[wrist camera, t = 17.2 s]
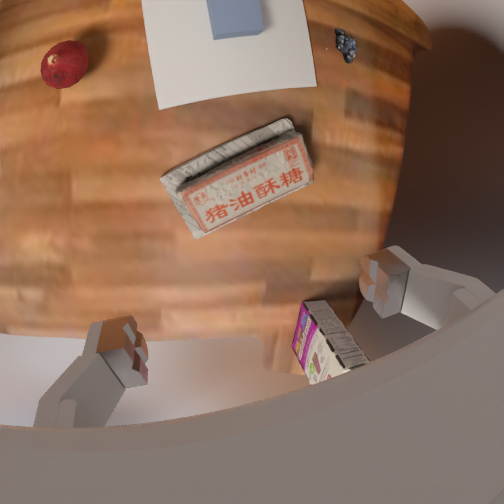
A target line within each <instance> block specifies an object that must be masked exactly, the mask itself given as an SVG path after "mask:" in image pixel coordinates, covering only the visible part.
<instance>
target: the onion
mask: <svg viewBox="0 0 504 504" xmlns="http://www.w3.org/2000/svg"><path fill="white" fill-rule="evenodd" d="M88 65H89V55H88V52H87V49H86V47H85V46H83V45H82V44H81V43H80V42H76V41H70V40H69V41H64V42H60V43H58V44H57V45H55V46H53V47H52V48H51V49H50V50H49V51H48V52H47V53H46V54H45V56H44V58H43V60H42V63H41V75H42V78H43V80H44V81H45V82H46V84H47V85H49V86H51V87H54V88H56V89H62V88H68V87H71V86H72V85H74V84H76V83H77V82H79V80H80V79H81V78H82V77H83V75H84V74H85V72H86V70H87V67H88Z"/></svg>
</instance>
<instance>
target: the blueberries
mask: <svg viewBox="0 0 504 504" xmlns="http://www.w3.org/2000/svg"><path fill="white" fill-rule="evenodd" d="M335 33H336V47H337V49H338V50H339V51H340V52H342V53H343V56H344V60H345V62H346V63H348V64H349V63H352V62H353V58H354V57H355V54H356V51H357V47H356V41H355V40H354V39H353V38H352V37H351V36H349V35H346V36H345V31H344V30H342V29H335ZM326 42H327V41H326ZM326 50H327V48H326Z"/></svg>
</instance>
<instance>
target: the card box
mask: <svg viewBox="0 0 504 504" xmlns="http://www.w3.org/2000/svg"><path fill="white" fill-rule="evenodd" d="M206 3H207V8H208V13H209V19H210V24H211V30H212V35H213V40H219V39H226V38H234V37H243V36H254V35H259V34H260V33H261V32H262V31H264V30H265V28H264V23H263V18H262V13H261V8H260V3H259V0H206Z"/></svg>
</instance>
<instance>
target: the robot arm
mask: <svg viewBox="0 0 504 504" xmlns="http://www.w3.org/2000/svg"><path fill="white" fill-rule="evenodd" d="M360 267H361V268H362V270H363V272H362V273H361V275H360V276H359V286H360V290H361V293H362V295H363V296H364V298H365V299H366V300H368V301H370V302H373V308H374V309H375V311H376V312H377V313H378V314H379V315H380V316H381V318H385V317H388V316H390V315H393V314H396V313H398V312H401V313H403V314H405V315H407V316H409V317H411V318H413V319H416V320H418V321H420V322H422V323H424V324H426V325H428V326H430V327H432V328H434V329H436V330H437V331H435V332H433V333H431V334H429V335H427V336H425V337H423V338H421V339H419V340H417V341H415V342H413V343H411V344H409V345H407V346H405V347H403V348H401V349H399V350H397V351H395V352H393V353H391V354H388V355H386V356H384V357H381V358H379V359H377V360H375V361H372V362H370V363H368V364H365V365H363V366H360V367H358V368H356V369H353V370H351V371H348V372H346V373H343V374H340V375H338V376H335V377H332V378H330V379H327V380H324V381H321V382H318V383H316V384H313V385H310V386H307V387H304V388H301V389H298V390H295V391H291V392H288V393H285V394H282V395H278V396H275V397H271V398H268V399H264V400H261V401H257V402H253V403H249V404H245V405H241V406H237V407H233V408H229V409H224V410H220V411H215V412H210V413H205V414H200V415H195V416H189V417H183V418H178V419H171V420H164V421H158V422H150V423H141V424H132V425H122V426H108V427H104V426H105V424H106V422H107V421H108V419H109V417H110V416H111V414H112V412H113V410H114V408H115V407H116V405H117V403H118V402H119V400H120V398H121V396H122V395H123V393H124V391H125V388H130V387H136V386H142V385H147V380H148V378H147V377H148V369H147V367H146V366H145V363H146V362H147V360H148V349H147V344H146V341H145V339H144V337H143V335H142V333H140V332H138V331H137V330H136V329H137V323H136V321H135V319H134V318H133V317H132V316H131V315H129V316H124V317H118V318H113V319H108V320H103V321H98V322H93V323H92V324H91V325H90V328H89V332H88V335H87V339H86V343H85V346H84V350H83V354H82V356H79V357H77V359H76V360H75V361H74V362H73V363H72V364H71V365H70V366H69V367H68V368H67V369H66V371H65V372H64V373H63V374H62V375H61V376H60V377H59V378H58V379H57V381H56V382H55V383H54V384H53V385H52V386H51V387H50V388H49V389H48V391H47V392H46V393H45V394H44V395H43V396H42V397H41V399H40V400H39V405H38V409H37V413H36V417H35V422H34V426H33V427H22V426H10V425H0V504H504V289H503V290H501V291H500V292H499V293H497V294H495V293H494V292H493V291H492V290H491V289H490V288H488V287H487V286H486V285H485V284H483V283H482V282H481V281H480V280H479V279H477V278H474V277H470V276H467V275H463V274H460V273H456V272H452V271H449V270H445V269H441V268H438V267H434V266H430V265H426V264H425V265H422V264H420V263H419V262H418V261H417V260H415V259H414V258H413V257H412V256H410V255H409V254H408V253H407V252H405V251H404V250H403V249H401V248H400V247H399V246H392V247H389V248H386V249H384V250H381V251H378V252H375V253H371V254H368V255H365V256H362V258H361V260H360Z"/></svg>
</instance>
